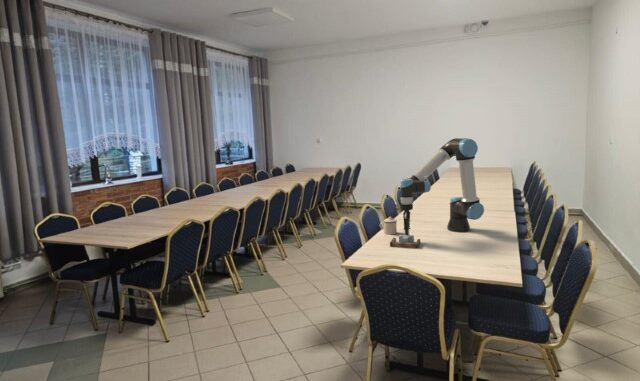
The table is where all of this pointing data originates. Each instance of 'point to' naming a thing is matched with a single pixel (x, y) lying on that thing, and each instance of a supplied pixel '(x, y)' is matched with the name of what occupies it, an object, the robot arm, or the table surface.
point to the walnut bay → (404, 244)
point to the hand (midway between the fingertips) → (406, 239)
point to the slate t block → (406, 238)
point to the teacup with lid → (389, 226)
